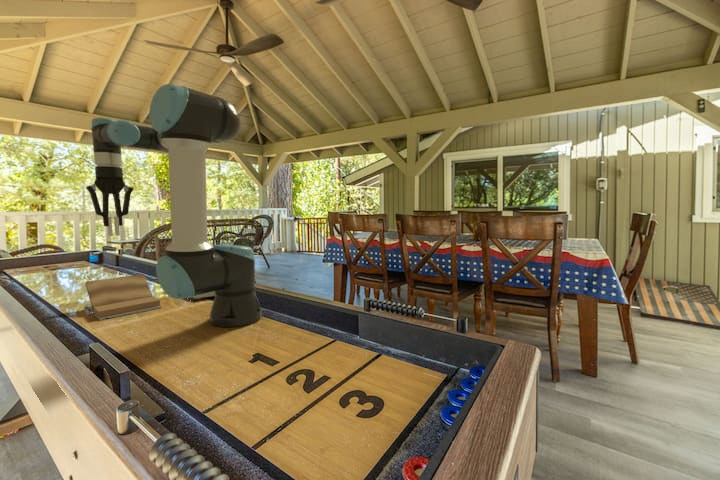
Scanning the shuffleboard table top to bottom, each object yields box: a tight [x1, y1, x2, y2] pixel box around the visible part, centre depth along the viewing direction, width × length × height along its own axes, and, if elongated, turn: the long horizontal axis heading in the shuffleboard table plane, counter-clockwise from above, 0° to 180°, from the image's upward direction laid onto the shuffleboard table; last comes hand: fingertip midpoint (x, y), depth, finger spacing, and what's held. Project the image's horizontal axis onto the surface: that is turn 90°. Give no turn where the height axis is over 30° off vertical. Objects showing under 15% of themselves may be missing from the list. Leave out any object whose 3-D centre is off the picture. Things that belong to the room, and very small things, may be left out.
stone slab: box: [187, 291, 215, 302], centre depth 136 cm, size 10×3×30 cm
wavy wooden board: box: [85, 273, 154, 310], centre depth 118 cm, size 11×17×2 cm
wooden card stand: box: [85, 296, 162, 321], centre depth 116 cm, size 21×17×3 cm
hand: (114, 235), depth 118 cm, fingers closed
